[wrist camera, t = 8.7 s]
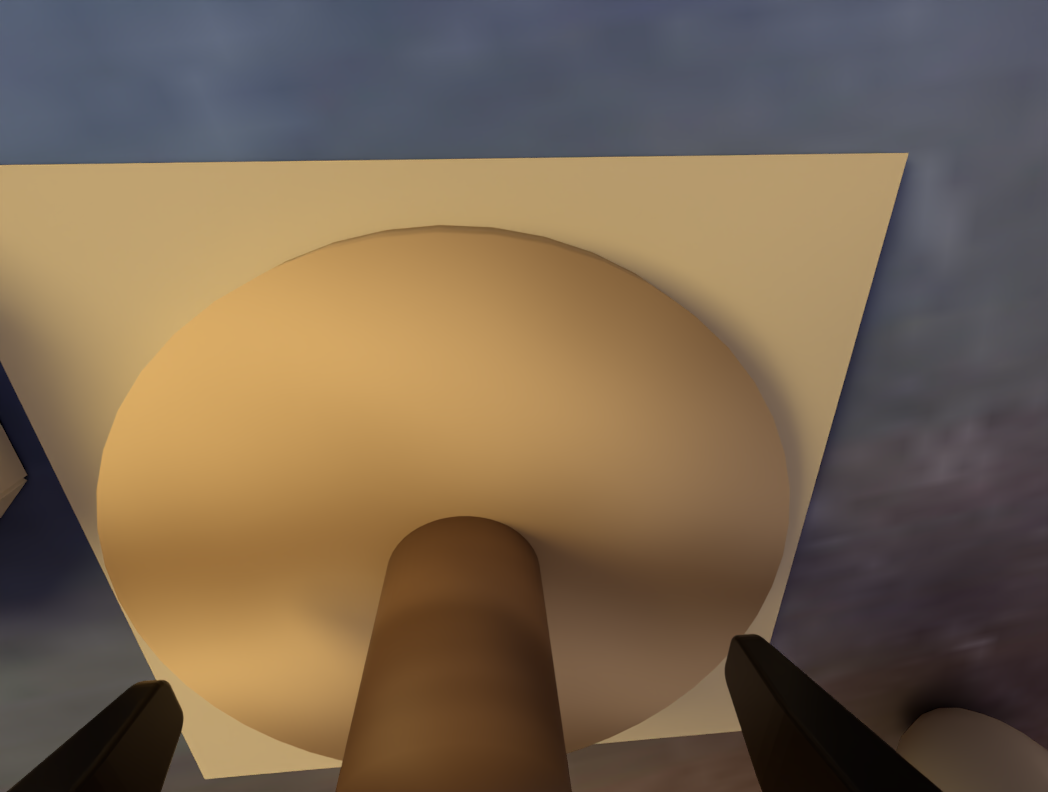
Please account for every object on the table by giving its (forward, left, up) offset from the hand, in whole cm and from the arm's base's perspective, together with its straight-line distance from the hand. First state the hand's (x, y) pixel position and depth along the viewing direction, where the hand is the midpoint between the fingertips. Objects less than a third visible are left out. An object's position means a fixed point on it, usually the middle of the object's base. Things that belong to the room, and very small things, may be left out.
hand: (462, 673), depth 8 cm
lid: (0, 0, -3) cm, 3 cm away
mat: (0, 0, -4) cm, 4 cm away
